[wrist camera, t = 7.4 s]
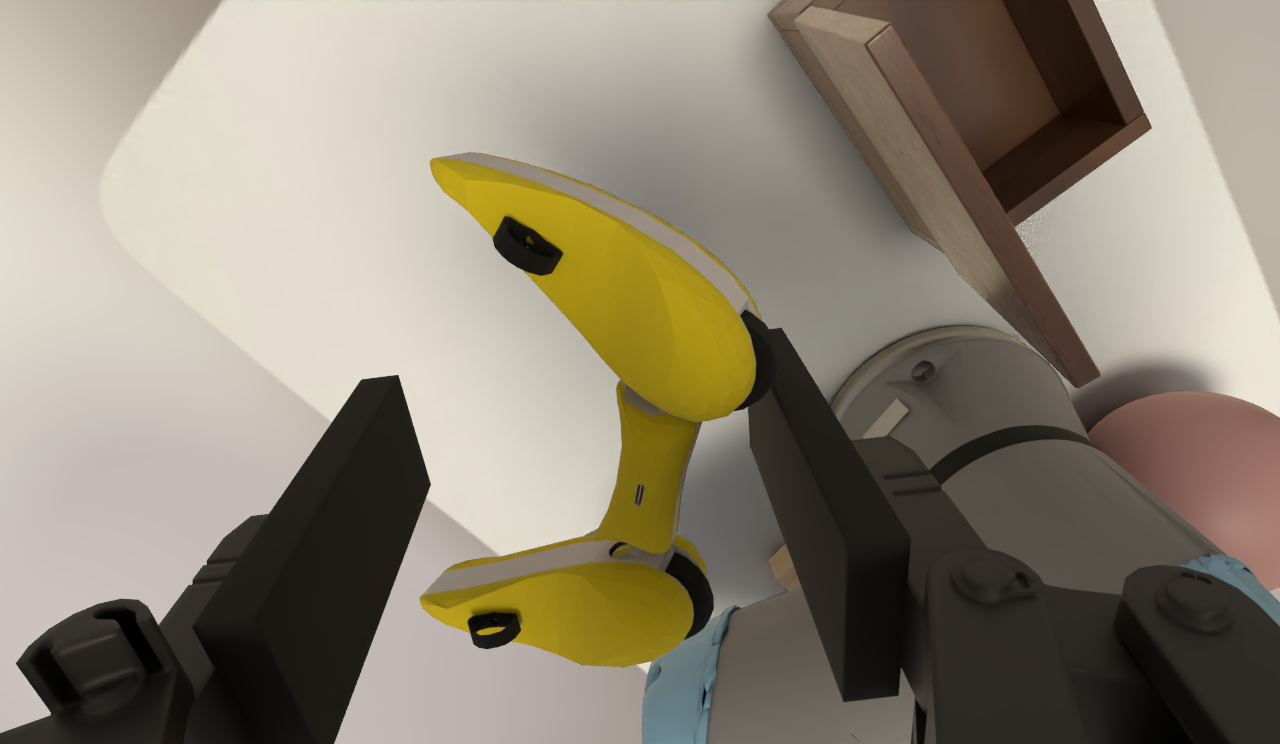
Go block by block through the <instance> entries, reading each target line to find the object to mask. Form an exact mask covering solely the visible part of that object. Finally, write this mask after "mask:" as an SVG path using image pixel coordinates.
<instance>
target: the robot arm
mask: <svg viewBox="0 0 1280 744" xmlns="http://www.w3.org/2000/svg"><path fill="white" fill-rule="evenodd" d="M769 330H770V332H771V333H772V335H773V337H774V340H775V343H776V346H777V349H778V353H779V354H778V369H777V375H776V379H775V382H774V383H773V385H772V387H771V389H770V390H769V391H768V392H767V393H766V394H765V395H764V396H763V398H762V399H761V400H759V401H757V402H756V403H754V404H752V405H750V406H748V414H749V435H750V447H751V449H752V452H753V455H754V458H755V461H756V463H757V466H758V469H759V472H760V474H761V477H762V480H763V483H764V485H765V488H766V491H767V494H768V496H769V499H770V502H771V505H772V507H773V510H774V513H775V516H776V518H777V521H778V524H779V527H780V529H781V532H782V535H783V538H784V540H785V543H786V546H787V549H788V551H789V554H790V557H791V560H792V562H793V565H794V568H795V571H796V573H797V576H798V579H799V582H800V584H801V587H798V588H796V589H793V590H790V591H788V592H785V593H782V594H779V595H777V596H774V597H771V598H769V599H766V600H763V601H761V602H758V603H755V604H752V605H750V606H747V607H744V608H740V607H737V606H732V607H729V608H727V609H725V610H724V611H723V613H722V614H721V615H720V616H718V617H715V618H713V619H711V620H709V621H708V623H707V624H706V626H705V628H704V629H702V630H701V631H700V632H699V633H697V634H696V635H694V636H692V637H690V638H688V639H687V640H683V641H682V642H681V643H680V644H679V645H678V646H677V647H676V648H675V649H673V650H672V651H670V652H668V653H667V654H665V655H663V656H661V657H659V658H658V659H656V660H654V661H652V663H651V666H650V668H649V671H648V675H647V680H646V686H645V695H644V698H643V708H642V709H643V710H642V744H1280V602H1279V601H1278V600H1277V599H1276V598H1275V597H1274V596H1273V595H1272V594H1271V593H1270V592H1269V591H1268V590H1267V589H1266V588H1265V587H1264V586H1263V585H1262V584H1261V583H1260V582H1259V581H1258V579H1257V577H1256V576H1255V575H1254V573H1253V572H1252V571H1251V570H1250V568H1248V567H1247V566H1246V565H1245V564H1244V563H1243V562H1241V561H1240V560H1238V559H1237V558H1233V557H1230V556H1228V555H1227V554H1226V553H1225V552H1223V551H1222V550H1221V549H1220V548H1218V547H1217V546H1216V545H1215V544H1214V543H1212V542H1211V541H1210V540H1209V539H1208V538H1206V537H1205V536H1204V535H1203V534H1202V533H1200V532H1199V531H1198V530H1197V529H1196V528H1194V527H1193V526H1192V525H1191V524H1190V523H1188V522H1187V521H1186V520H1185V519H1184V518H1182V517H1181V516H1180V515H1179V514H1177V513H1176V512H1175V511H1174V510H1173V509H1171V508H1170V507H1169V506H1168V505H1167V504H1165V503H1164V502H1163V501H1162V500H1161V499H1159V498H1158V497H1157V496H1156V495H1155V494H1153V493H1152V492H1151V491H1150V490H1149V489H1147V488H1146V487H1145V486H1144V485H1143V484H1141V483H1140V482H1139V481H1138V480H1136V479H1135V478H1134V477H1133V476H1132V475H1130V474H1129V473H1128V472H1127V471H1126V470H1124V469H1123V468H1122V467H1121V466H1120V465H1118V464H1117V463H1116V462H1115V461H1114V460H1112V459H1111V458H1110V457H1108V456H1107V455H1106V454H1105V453H1104V452H1102V451H1101V450H1100V449H1099V448H1098V447H1096V446H1095V445H1094V444H1093V443H1092V442H1091V441H1090V439H1089V437H1088V435H1087V433H1086V430H1085V428H1084V426H1083V424H1082V422H1081V420H1080V418H1079V416H1078V414H1077V412H1076V410H1075V408H1074V406H1073V404H1072V402H1071V400H1070V398H1069V396H1068V393H1067V391H1066V389H1065V386H1064V384H1063V382H1062V380H1061V378H1060V377H1059V375H1058V374H1057V372H1056V371H1055V370H1054V369H1053V368H1052V366H1051V365H1050V364H1049V363H1048V362H1047V361H1045V360H1044V359H1043V358H1042V357H1041V356H1039V355H1038V354H1037V353H1035V352H1034V351H1033V350H1031V349H1030V348H1029V347H1027V346H1026V345H1025V344H1023V343H1022V342H1020V341H1019V340H1017V339H1015V338H1013V337H1011V336H1009V335H1007V334H1005V333H1002V332H999V331H996V330H992V329H988V328H982V327H975V326H952V327H944V328H937V329H933V330H929V331H925V332H922V333H919V334H916V335H913V336H910V337H908V338H905V339H903V340H901V341H899V342H897V343H895V344H893V345H891V346H889V347H887V348H886V349H884V350H883V351H881V352H879V353H878V354H877V355H875V356H874V357H872V358H871V359H870V360H868V361H867V362H866V363H865V364H864V365H863V366H861V367H860V368H859V369H858V370H857V371H856V372H855V373H854V374H853V375H852V376H851V377H850V379H849V380H848V381H847V382H846V383H845V385H844V386H843V387H842V388H841V390H840V391H839V393H838V394H837V396H836V397H835V399H834V401H833V403H832V405H831V406H829V404H828V403H827V401H826V399H825V398H824V396H823V395H822V393H821V391H820V390H819V388H818V386H817V385H816V383H815V382H814V380H813V378H812V377H811V375H810V373H809V372H808V370H807V369H806V367H805V365H804V364H803V362H802V360H801V359H800V357H799V356H798V354H797V352H796V351H795V349H794V347H793V346H792V344H791V343H790V341H789V339H788V338H787V336H786V334H785V333H784V331H783V330H782V328H776V329H769ZM430 486H431V483H430V480H429V477H428V473H427V470H426V466H425V463H424V460H423V456H422V453H421V450H420V446H419V443H418V440H417V436H416V433H415V429H414V426H413V423H412V419H411V416H410V413H409V409H408V406H407V403H406V399H405V396H404V393H403V389H402V386H401V382H400V379H399V376H398V375H394V376H386V377H378V378H370V379H362V380H361V381H360V382H359V384H358V385H357V387H356V388H355V390H354V391H353V393H352V394H351V396H350V397H349V398H348V400H347V401H346V403H345V404H344V406H343V407H342V409H341V410H340V412H339V413H338V414H337V416H336V417H335V419H334V420H333V422H332V423H331V425H330V426H329V428H328V429H327V431H326V432H325V433H324V435H323V436H322V438H321V439H320V441H319V442H318V443H317V445H316V447H315V448H314V449H313V451H312V452H311V454H310V455H309V457H308V458H307V460H306V461H305V463H304V464H303V465H302V467H301V468H300V470H299V471H298V473H297V474H296V476H295V477H294V479H293V480H292V481H291V483H290V485H289V486H288V487H287V489H286V490H285V491H284V493H283V495H282V496H281V497H280V499H279V500H278V502H277V503H276V505H275V506H274V507H273V509H272V510H271V512H270V513H269V514H265V515H257V516H251V517H250V518H248V519H247V520H246V521H244V522H243V523H242V524H241V525H239V526H238V527H237V528H236V529H234V530H233V531H232V532H231V533H229V534H228V535H227V536H226V537H224V538H223V540H222V541H221V542H220V544H219V545H218V547H217V548H216V549H215V550H214V552H213V553H212V554H211V556H210V557H209V559H208V560H207V565H204V566H202V568H201V569H200V571H199V572H198V574H197V575H196V576H195V577H194V579H193V584H192V585H188V587H187V588H186V589H185V591H184V592H183V593H182V595H181V596H180V597H179V599H178V600H177V601H176V603H175V604H174V605H173V607H172V608H171V609H170V611H169V612H168V613H167V615H166V616H165V618H164V619H163V620H162V622H161V623H160V624H159V626H158V624H157V622H156V621H155V619H154V617H153V615H152V613H151V612H150V610H149V608H148V607H147V606H146V605H145V604H143V603H142V602H140V601H139V600H132V599H118V600H114V601H109V602H104V603H100V604H97V605H94V606H92V607H90V608H87V609H85V610H83V611H80V612H78V613H75V614H73V615H72V616H70V617H68V618H66V619H65V620H63V621H61V622H60V623H58V624H56V625H55V626H53V627H52V628H50V629H48V630H47V631H46V632H45V633H44V634H43V635H41V636H40V637H39V638H38V639H37V640H35V641H34V642H33V643H32V644H31V645H30V646H28V648H27V649H26V651H25V652H24V653H23V655H22V656H21V658H20V659H19V660H18V661H17V663H16V664H17V666H18V667H19V669H20V670H21V672H22V673H23V674H24V676H25V677H26V678H27V680H28V681H29V683H30V684H31V685H32V687H33V688H34V690H35V691H36V692H37V694H38V695H39V696H40V698H41V699H42V701H43V702H44V703H45V705H46V706H47V708H48V709H49V710H50V712H51V715H50V716H48V717H45V718H42V719H39V720H37V721H34V722H31V723H28V724H25V725H22V726H19V727H17V728H14V729H11V730H8V731H5V732H3V733H0V744H334V742H335V739H336V737H337V734H338V732H339V729H340V726H341V723H342V721H343V718H344V716H345V713H346V710H347V707H348V705H349V702H350V699H351V697H352V694H353V692H354V689H355V686H356V684H357V681H358V678H359V675H360V673H361V670H362V667H363V665H364V662H365V659H366V657H367V654H368V651H369V649H370V646H371V643H372V641H373V638H374V635H375V633H376V630H377V627H378V625H379V622H380V619H381V616H382V613H383V611H384V609H385V606H386V603H387V600H388V598H389V595H390V593H391V590H392V587H393V585H394V582H395V579H396V576H397V574H398V571H399V568H400V566H401V563H402V560H403V557H404V555H405V552H406V550H407V547H408V544H409V542H410V539H411V536H412V534H413V531H414V528H415V526H416V523H417V520H418V518H419V515H420V512H421V510H422V507H423V504H424V501H425V499H426V496H427V494H428V491H429V488H430Z"/></svg>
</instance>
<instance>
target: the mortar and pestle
mask: <svg viewBox="0 0 1280 744" xmlns="http://www.w3.org/2000/svg"><path fill="white" fill-rule="evenodd" d="M1087 435H1088V437H1089V439H1090V441H1091V442H1092V443H1093V444H1094V445H1095V446H1096V447H1098V448H1099V449H1100V450H1101V451H1102V452H1104V453H1105V454H1106V455H1107V456H1108V457H1110V458H1111V459H1112V460H1114V461H1115V462H1116V463H1117V464H1118V465H1120V466H1121V467H1122V468H1123V469H1124V470H1126V471H1127V472H1128V473H1129V474H1130V475H1132V476H1133V477H1134V478H1135V479H1136V480H1138V481H1139V482H1140V483H1141V484H1143V485H1144V486H1145V487H1146V488H1147V489H1149V490H1150V491H1151V492H1152V493H1153V494H1155V495H1156V496H1157V497H1158V498H1159V499H1161V500H1162V501H1163V502H1164V503H1165V504H1167V505H1168V506H1169V507H1170V508H1171V509H1173V510H1174V511H1175V512H1176V513H1177V514H1179V515H1180V516H1181V517H1182V518H1184V519H1185V520H1186V521H1187V522H1188V523H1190V524H1191V525H1192V526H1193V527H1194V528H1196V529H1197V530H1198V531H1199V532H1200V533H1202V534H1203V535H1204V536H1205V537H1206V538H1208V539H1209V540H1210V541H1211V542H1212V543H1214V544H1215V545H1216V546H1217V547H1218V548H1220V549H1221V550H1222V551H1223V552H1225V553H1226V554H1227V555H1228V556H1230V557H1233V558H1237V559H1238V560H1240V561H1241V562H1243V563H1244V564H1245V565H1246V566H1247V567H1248V568H1250V570H1251V571H1252V572H1253V573H1254V575H1255V576H1256V577H1257V579H1258V581H1259V582H1260V583H1261V584H1262V585H1263V586H1264V587H1265V588H1266V589H1267V590H1268V591H1271V590H1274V589H1276V588H1279V587H1280V418H1279V417H1277V416H1276V415H1274V414H1273V413H1271V412H1269V411H1267V410H1265V409H1263V408H1261V407H1259V406H1257V405H1255V404H1252V403H1250V402H1247V401H1244V400H1241V399H1238V398H1235V397H1231V396H1227V395H1223V394H1218V393H1211V392H1202V391H1176V392H1166V393H1160V394H1155V395H1150V396H1146V397H1143V398H1140V399H1137V400H1134V401H1132V402H1130V403H1127V404H1125V405H1123V406H1121V407H1119V408H1117V409H1116V410H1114V411H1112V412H1111V413H1110V414H1108V415H1107V416H1105V417H1104V418H1103V419H1102V420H1100V421H1099V422H1098V423H1097V424H1096V425H1095V426H1094V427H1093V428H1092V429H1091V430H1090V432H1089V433H1088V434H1087Z"/></svg>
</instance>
